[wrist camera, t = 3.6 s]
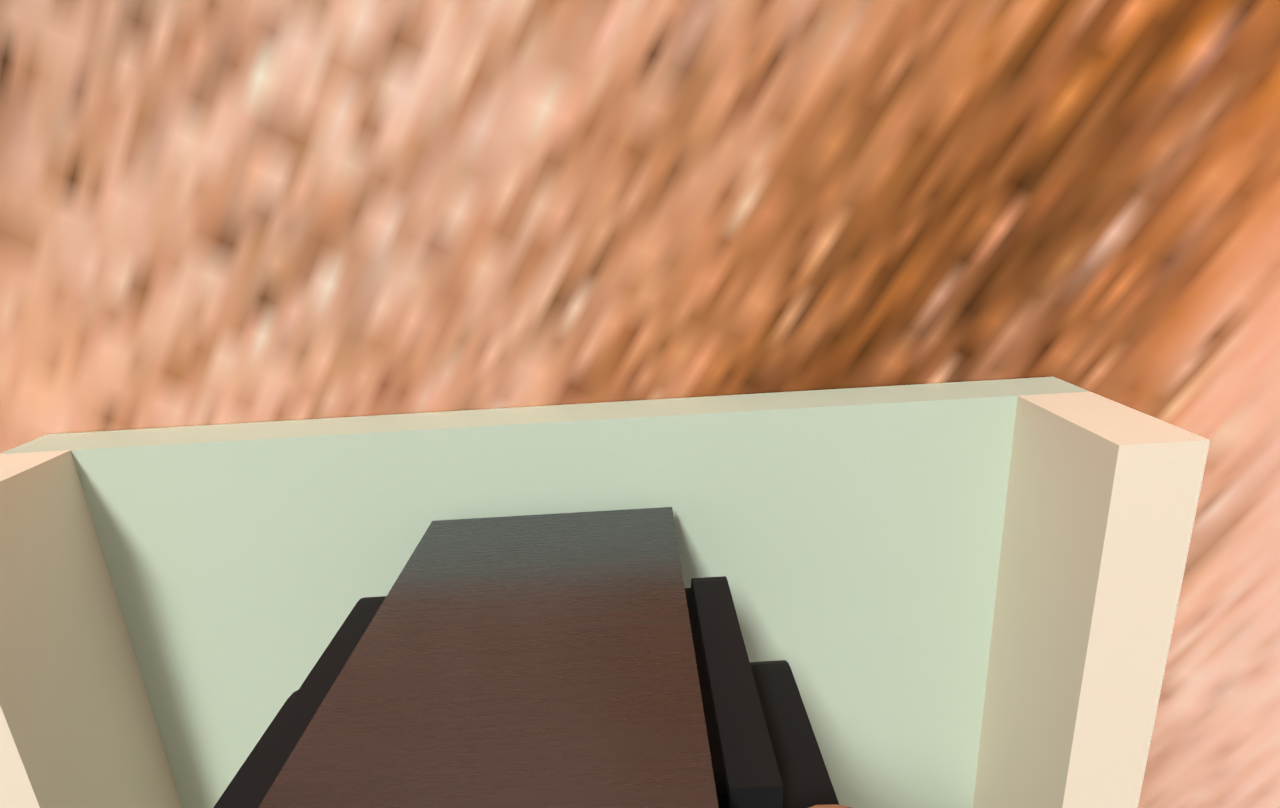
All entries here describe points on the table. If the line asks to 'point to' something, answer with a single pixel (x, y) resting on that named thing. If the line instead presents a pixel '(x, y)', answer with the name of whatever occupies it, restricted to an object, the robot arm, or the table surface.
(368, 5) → the table surface
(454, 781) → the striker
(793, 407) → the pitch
